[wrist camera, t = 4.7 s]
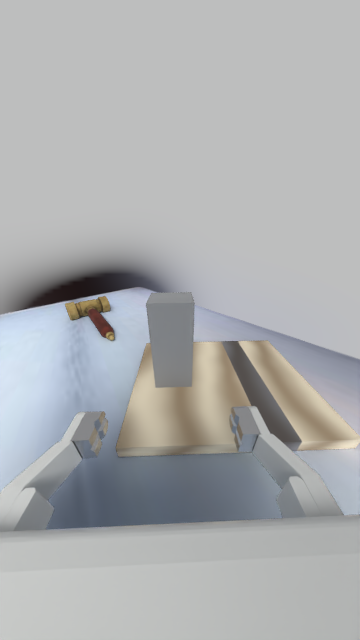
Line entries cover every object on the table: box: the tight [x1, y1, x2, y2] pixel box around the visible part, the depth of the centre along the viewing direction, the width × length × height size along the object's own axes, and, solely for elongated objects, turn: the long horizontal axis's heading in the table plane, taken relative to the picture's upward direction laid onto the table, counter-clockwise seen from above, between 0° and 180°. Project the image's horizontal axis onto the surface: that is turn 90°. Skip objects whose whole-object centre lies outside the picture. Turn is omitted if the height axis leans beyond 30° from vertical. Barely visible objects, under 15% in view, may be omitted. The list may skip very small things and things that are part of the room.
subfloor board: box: [116, 341, 360, 457], centre depth 21 cm, size 22×16×2 cm
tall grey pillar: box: [146, 292, 194, 388], centre depth 19 cm, size 4×4×11 cm
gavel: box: [65, 296, 114, 340], centre depth 38 cm, size 21×5×10 cm
